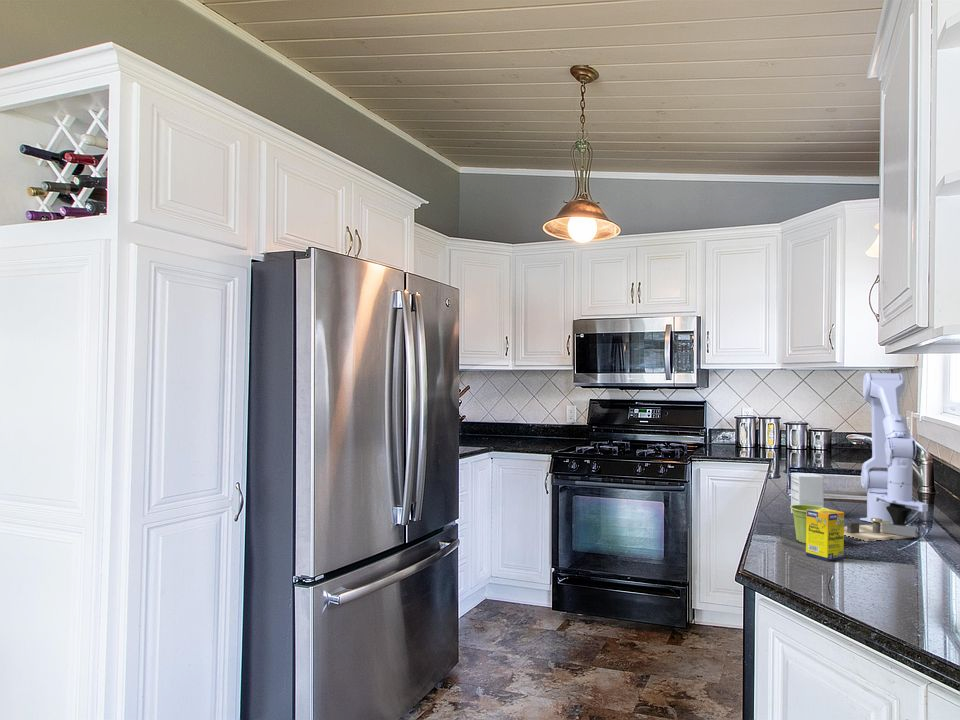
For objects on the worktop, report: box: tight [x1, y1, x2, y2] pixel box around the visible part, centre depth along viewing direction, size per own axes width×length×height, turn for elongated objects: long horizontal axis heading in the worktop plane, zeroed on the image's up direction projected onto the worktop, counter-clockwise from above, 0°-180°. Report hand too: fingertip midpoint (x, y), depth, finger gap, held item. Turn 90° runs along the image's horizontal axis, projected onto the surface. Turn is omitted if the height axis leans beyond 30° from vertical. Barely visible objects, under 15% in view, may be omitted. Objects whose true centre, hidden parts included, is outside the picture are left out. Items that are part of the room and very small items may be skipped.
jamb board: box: [844, 521, 918, 542], centre depth 190 cm, size 18×13×4 cm
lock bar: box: [871, 518, 917, 538], centre depth 186 cm, size 10×3×3 cm, turn 51°
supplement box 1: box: [790, 472, 825, 514], centre depth 214 cm, size 7×7×13 cm
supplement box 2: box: [805, 507, 845, 562], centre depth 164 cm, size 6×6×11 cm
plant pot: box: [790, 505, 829, 544], centre depth 179 cm, size 9×9×9 cm
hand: (899, 533), depth 187 cm, fingers closed, pressing on lock bar
